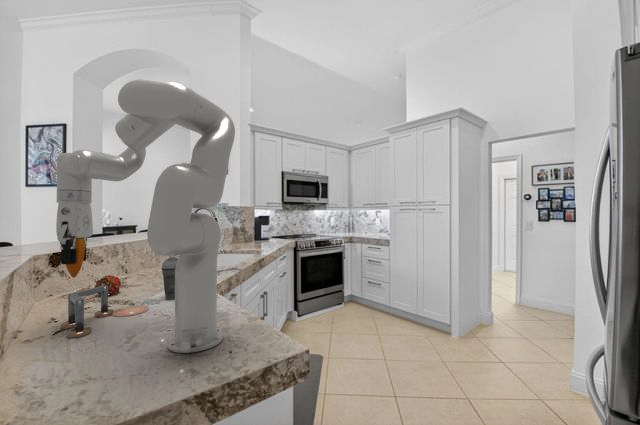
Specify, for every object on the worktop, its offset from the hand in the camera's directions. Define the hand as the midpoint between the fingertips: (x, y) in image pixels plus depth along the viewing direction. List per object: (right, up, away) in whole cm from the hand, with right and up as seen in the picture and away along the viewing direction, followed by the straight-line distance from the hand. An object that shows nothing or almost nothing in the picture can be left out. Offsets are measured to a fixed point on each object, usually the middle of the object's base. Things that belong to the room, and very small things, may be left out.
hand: (74, 261), depth 81 cm
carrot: (0, -5, 0) cm, 5 cm away
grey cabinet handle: (+1, -19, +2) cm, 19 cm away
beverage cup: (+13, -19, +29) cm, 37 cm away
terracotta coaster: (+7, -19, +13) cm, 24 cm away
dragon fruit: (-16, -20, +35) cm, 43 cm away
